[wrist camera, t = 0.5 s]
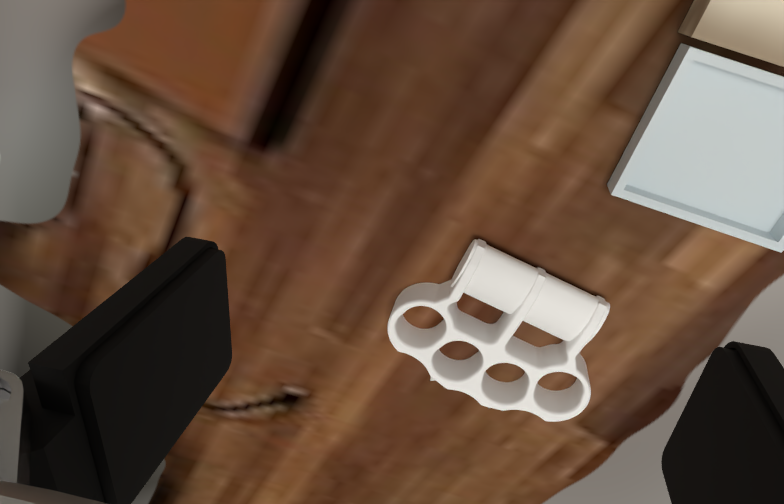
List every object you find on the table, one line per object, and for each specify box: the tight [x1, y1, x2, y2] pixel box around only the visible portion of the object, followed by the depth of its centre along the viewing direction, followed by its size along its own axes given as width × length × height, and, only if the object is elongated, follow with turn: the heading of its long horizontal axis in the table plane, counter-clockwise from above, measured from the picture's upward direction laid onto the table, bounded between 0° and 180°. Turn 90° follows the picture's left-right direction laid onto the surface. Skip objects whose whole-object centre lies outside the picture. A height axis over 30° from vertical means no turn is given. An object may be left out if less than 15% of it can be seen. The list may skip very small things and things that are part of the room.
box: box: [607, 43, 784, 253], centre depth 35 cm, size 10×12×2 cm
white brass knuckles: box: [388, 239, 610, 421], centre depth 45 cm, size 3×18×15 cm
